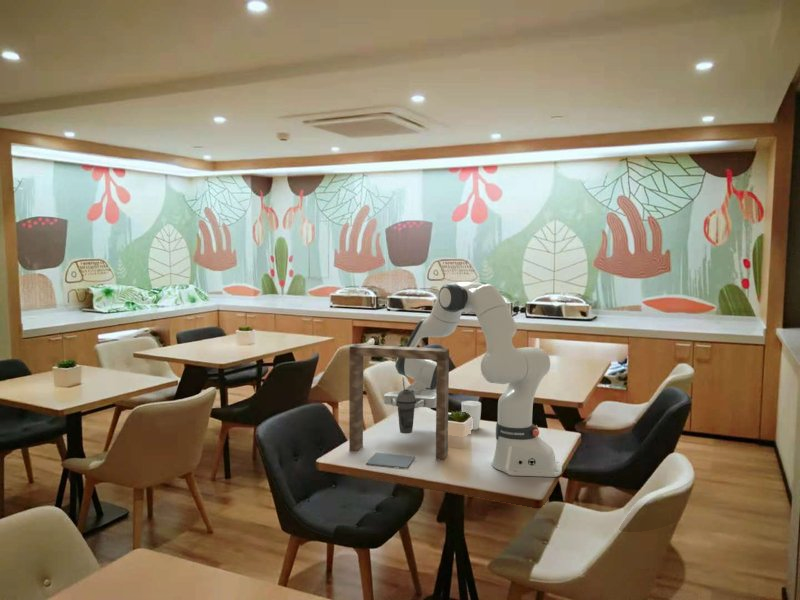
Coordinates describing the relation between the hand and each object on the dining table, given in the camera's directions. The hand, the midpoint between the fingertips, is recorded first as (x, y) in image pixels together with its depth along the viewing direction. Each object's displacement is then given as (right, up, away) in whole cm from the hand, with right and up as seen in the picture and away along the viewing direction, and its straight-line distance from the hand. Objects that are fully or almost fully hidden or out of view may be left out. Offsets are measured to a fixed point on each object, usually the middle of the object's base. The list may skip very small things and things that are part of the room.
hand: (405, 404), depth 217 cm
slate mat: (-5, -16, -17) cm, 24 cm away
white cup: (+27, -14, +24) cm, 38 cm away
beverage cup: (0, -10, +2) cm, 11 cm away
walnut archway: (-3, -15, -8) cm, 18 cm away
